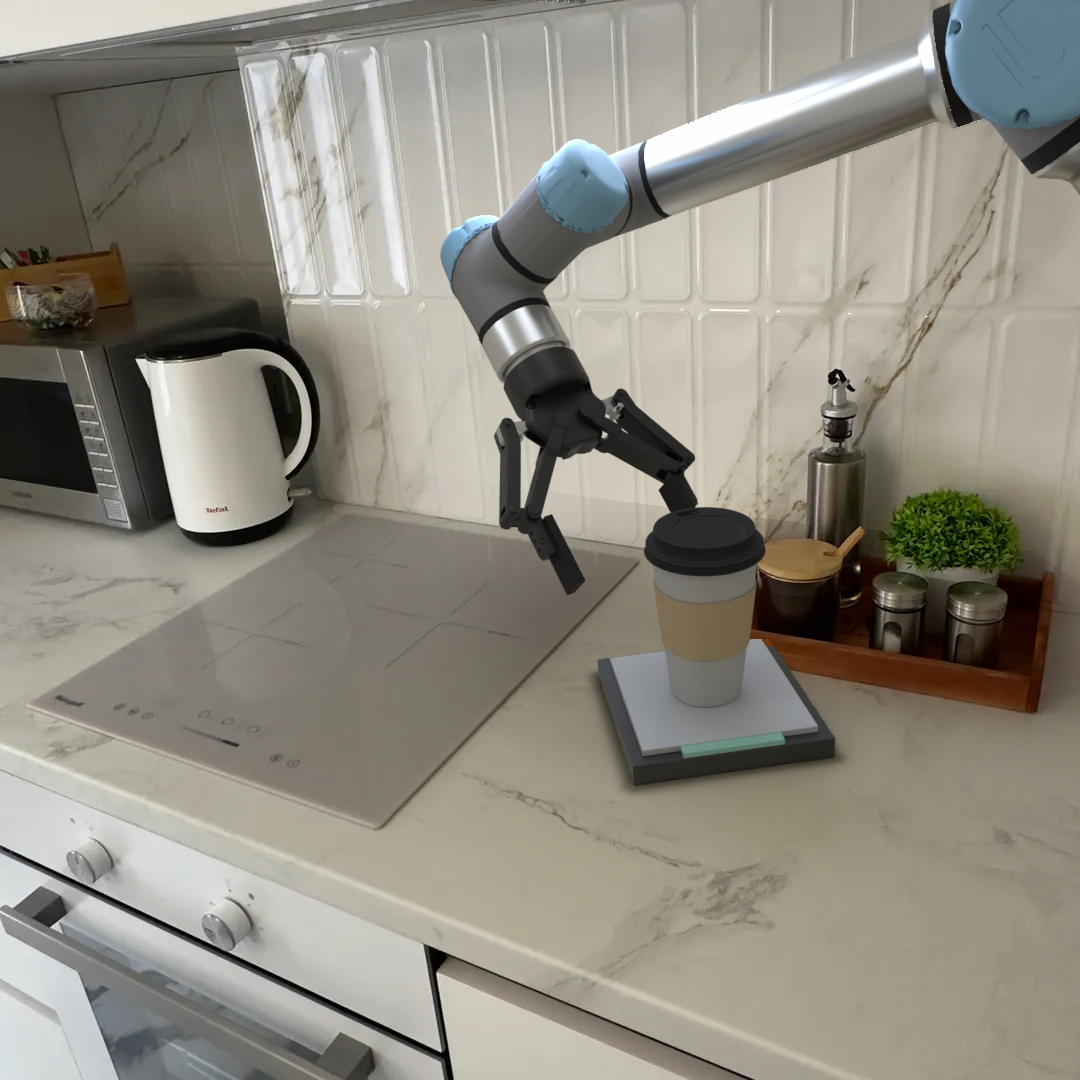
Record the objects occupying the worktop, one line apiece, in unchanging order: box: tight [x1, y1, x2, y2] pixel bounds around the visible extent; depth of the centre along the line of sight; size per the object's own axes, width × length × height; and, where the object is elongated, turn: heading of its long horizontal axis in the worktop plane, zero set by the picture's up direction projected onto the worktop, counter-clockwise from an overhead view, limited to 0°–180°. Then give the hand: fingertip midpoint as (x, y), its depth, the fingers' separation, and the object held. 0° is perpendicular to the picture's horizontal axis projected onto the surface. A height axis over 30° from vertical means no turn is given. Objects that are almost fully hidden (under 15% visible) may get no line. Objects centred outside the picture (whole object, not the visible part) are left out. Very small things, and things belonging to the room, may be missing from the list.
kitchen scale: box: [597, 638, 836, 786], centre depth 83 cm, size 16×16×2 cm
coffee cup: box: [643, 506, 767, 708], centre depth 79 cm, size 9×9×15 cm
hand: (641, 565), depth 85 cm, fingers open, 13 cm apart
